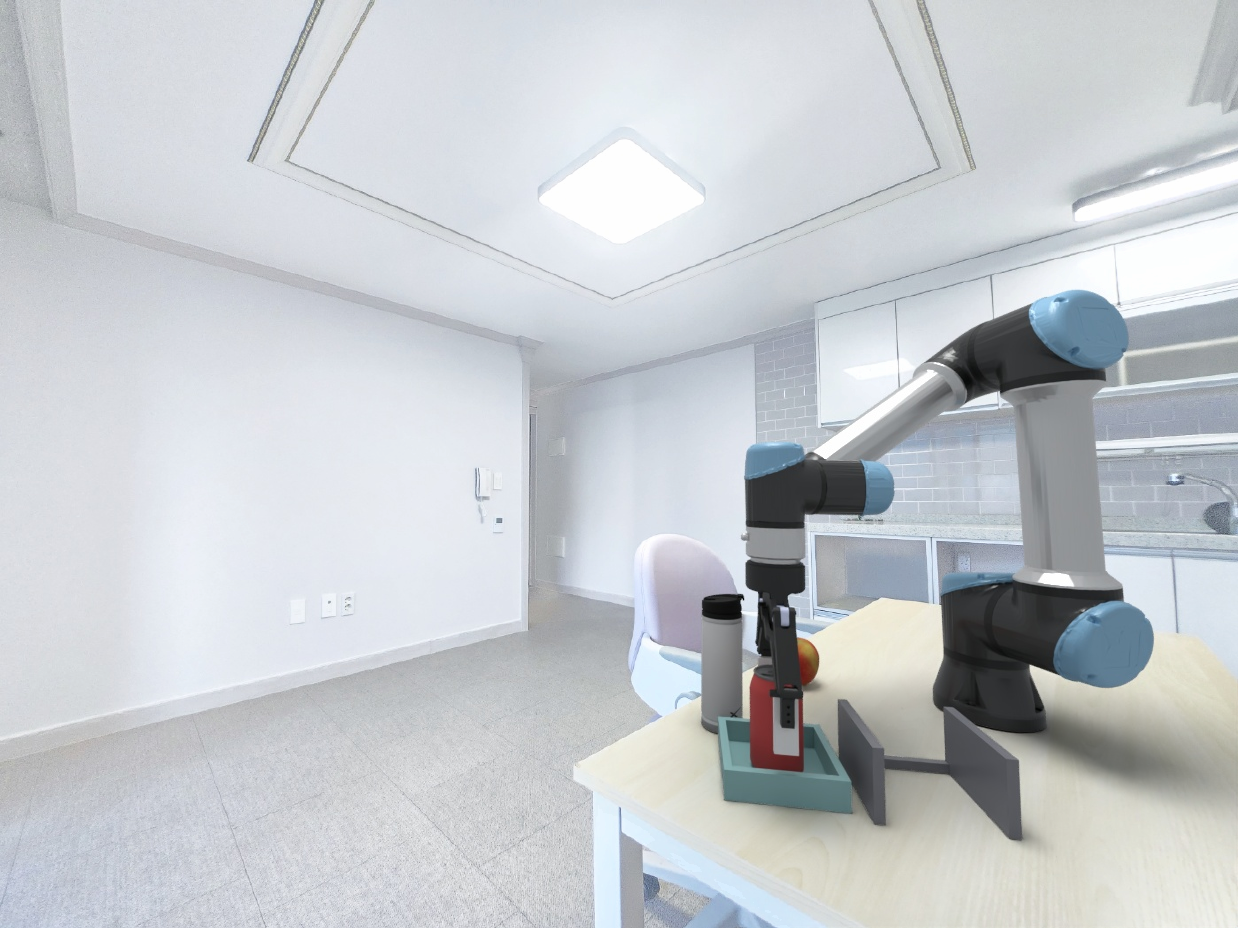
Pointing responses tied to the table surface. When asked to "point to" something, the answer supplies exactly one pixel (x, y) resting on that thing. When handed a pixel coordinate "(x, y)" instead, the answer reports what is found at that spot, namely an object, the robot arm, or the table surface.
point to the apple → (807, 660)
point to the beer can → (769, 725)
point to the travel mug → (721, 659)
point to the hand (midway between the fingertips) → (776, 726)
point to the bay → (935, 767)
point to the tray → (783, 772)
